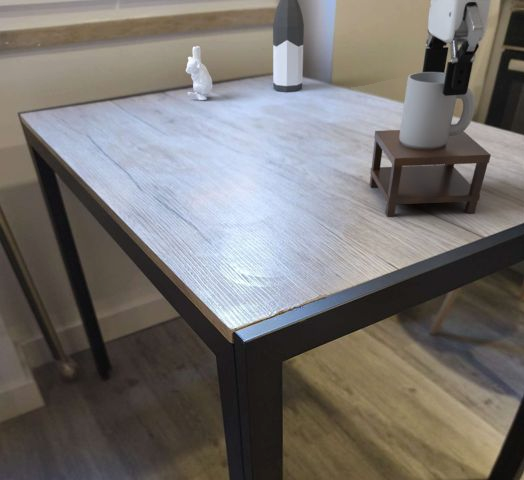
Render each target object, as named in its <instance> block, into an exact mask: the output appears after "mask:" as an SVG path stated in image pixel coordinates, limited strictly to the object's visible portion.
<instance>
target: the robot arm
mask: <svg viewBox="0 0 524 480" xmlns="http://www.w3.org/2000/svg"><path fill="white" fill-rule="evenodd" d="M491 2H492V0H430V2H429V3H430V4H429V10H428V11H429V12H428V21H427V32H428V36H427V38H426V41H425V50H424V51H425V52H424V58H423V64H422V70H421V72H441V73H446V75H445V81H444V87H443V94H444V95H445V96H451V95H465V94H466V93H467V90H468V88H469V85H470V79H471V74H472V69H473V65H474V62H475V61H476V53H477V51H478V49H479V47H480V44H479V43H480V42H481V41H482V40H483V39H484V37H485V36H486V30H487V25H488V19H489V15H490V8H491ZM448 44H449V47H448V46H447V45H448ZM459 46H460V47H459ZM449 50H450V51H449ZM449 52H450V61H447V59H448V53H449Z"/></svg>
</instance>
